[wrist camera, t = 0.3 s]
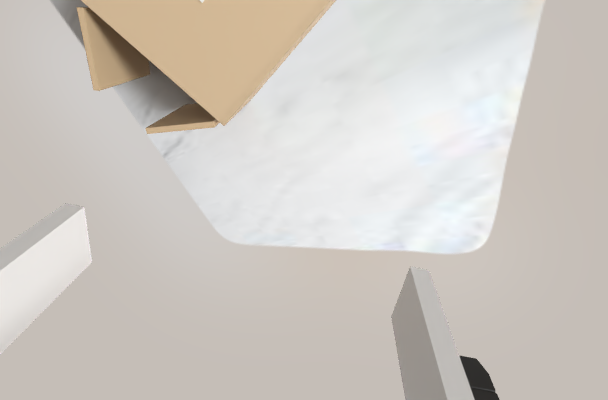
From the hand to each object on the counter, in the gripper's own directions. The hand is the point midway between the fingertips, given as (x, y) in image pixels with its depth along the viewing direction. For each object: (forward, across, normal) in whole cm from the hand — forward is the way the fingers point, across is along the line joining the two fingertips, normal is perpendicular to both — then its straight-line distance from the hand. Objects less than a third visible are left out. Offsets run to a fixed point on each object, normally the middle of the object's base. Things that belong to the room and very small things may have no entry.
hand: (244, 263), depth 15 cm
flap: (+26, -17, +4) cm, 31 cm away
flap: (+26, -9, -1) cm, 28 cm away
